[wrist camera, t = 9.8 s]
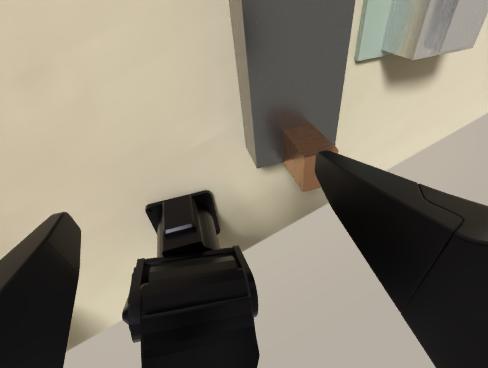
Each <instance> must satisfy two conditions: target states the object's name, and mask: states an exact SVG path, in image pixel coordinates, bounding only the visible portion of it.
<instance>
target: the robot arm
mask: <svg viewBox="0 0 488 368" xmlns="http://www.w3.org/2000/svg"><path fill="white" fill-rule="evenodd" d="M314 171H315V175H316V177H317V179H318V181H319V183H320V185H321V187H322V189H323V192H324V194H325V196H326V198H327V200H328V202H329V204H330V205H331V207H332V209H333V210H334V212H335V214H336V215H337V216H338V218H339V219H340V221H341V223H342V224H343V226H344V227H345V229H346V230H347V232H348V233H349V235H350V236H351V238H352V240H353V241H354V243H355V244H356V246H357V247H358V249H359V250H360V251H361V253H362V255H363V256H364V258H365V259H366V261H367V262H368V264H369V266H370V267H371V269H372V270H373V272H374V273H375V275H376V276H377V278H378V279H379V281H380V282H381V284H382V285H383V287H384V289H385V290H386V292H387V293H388V295H389V296H390V298H391V299H392V301H393V302H394V303H395V305H396V307H397V308H398V310H399V311H400V312H401V315H402V316H403V318H404V319H405V321H406V322H407V324H408V325H409V327H410V328H411V330H412V332H413V333H414V335H415V336H416V338H417V339H418V341H419V342H420V344H421V345H422V347H423V348H424V350H425V351H426V353H427V355H428V356H429V358H430V359H431V361H432V362H433V364H434V365H435V367H436V368H488V206H486V205H483V204H479V203H476V202H473V201H469V200H466V199H463V198H460V197H457V196H454V195H450V194H447V193H444V192H441V191H438V190H436V189H432V188H430V187H427V186H425V185H422V184H417V183H416V182H413V181H411V180H408V179H405V178H403V177H400V176H397V175H394V174H392V173H389V172H386V171H384V170H381V169H378V168H375V167H373V166H370V165H367V164H365V163H362V162H359V161H356V160H354V159H351V158H348V157H345V156H343V155H340V154H337V153H334V152H332V151H329V150H324V151H320V152H318V153H317V154H316V158H315V169H314ZM204 195H207V196H204ZM150 209H152V210H150ZM145 211H146V213H147V215H148V217H149V219H150V221H151V223H152V225H153V227H154V229H155V231H156V233H157V258H150V259H145V258H142V259H138V260H137V265H136V267H134V272H133V274H132V281H131V287H130V292H129V296H128V299H127V302H126V304H125V307H124V309H123V313H122V318H123V321H125V322H126V323H127V324H128V325H129V329H130V332H131V337H132V341H133V342H134V343H135V342H139V341H141V362H142V368H257V365H258V360H259V350H258V344H257V339H256V333H255V326H254V317H256V316H257V314H258V296H257V290H256V285H255V281H254V278H253V275H252V272H251V270H250V268H249V266H248V264H247V262H246V260H245V258H244V256H243V254H242V252H241V250H240V248H239V246H233V247H231V248H224V249H220V247H219V243H218V238H217V234H219V233H220V228H219V224H218V220H217V216H216V212H215V208H214V204H213V200H212V197H211V193H210V191H207V190H205V191H201V192H197V193H193V194H189V195H185V196H180V197H176V198H172V199H168V200H164V201H160V202H156V203H152V204H149V205H147V206H146V209H145ZM80 248H81V230H80V228H79V226H78V225H77V224H76V222H75V221H74V220H73V218H72V217H71V216H70V215H69V214H68V213H67V212H61V213H57V214H53V215H51V216H50V217H49V218H48V219H46V220H45V221H44V222H43V223H42V224H41V225H40V226H38V227H37V228H36V229H35V230H34V231H33V232H32V233H31V234H29V235H28V236H27V237H26V238H25V239H24V240H23V241H21V242H20V243H19V244H18V245H17V246H16V247H15V248H13V249H12V250H11V251H10V252H9V253H8V254H7V255H6V256H4V257H3V258H2V259H1V260H0V368H63V365H64V359H65V353H66V348H67V342H68V336H69V330H70V324H71V319H72V313H73V307H74V301H75V295H76V290H77V284H78V278H79V269H80Z"/></svg>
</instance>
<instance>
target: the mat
mask: <svg viewBox="0 0 488 368" xmlns="http://www.w3.org/2000/svg"><path fill="white" fill-rule="evenodd" d="M391 1H392V0H364V3H363V9H362V15H361V22H360V28H359V34H358V41H357V47H356V53H355V59H354V60H357V61H361V60H366V59H371V58H376V57H381V56H386V55H391V54H393V53H390V52H387V51H384V50H381V47H382V43H383V38H384V34H385V29H386V24H387V20H388V15H389V10H390V6H391Z"/></svg>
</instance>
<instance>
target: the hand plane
mask: <svg viewBox="0 0 488 368" xmlns="http://www.w3.org/2000/svg"><path fill="white" fill-rule="evenodd" d="M229 5H230V13H231V22H232V30H233V39H234V47H235V56H236V64H237V73H238V81H239V90H240V98H241V107H242V115H243V124H244V133H245V141H246V148H247V150H248V152H249V154H250V156H251V158H252V160H253V162H254V164H255V165H256V167H257V168H260V167H264V166H268V165H272V164H276V163H281V162H283V163H284V164H285V166H286V167H287V169H288V170H289V172H290V173H291V175H292V176H293V178H294V179H295V181H296V182H297V184H298V185H299V187H300V188H301V190H302V191H303V192H304V191H308V190H312V189H316V188H319V187H321V185H320V183H319V181H318V179H317V177H316V175H315V171H314V169H315V158H316V154H317V153H318V152H320V151H324V150H329V151H332V152H334V153H337V154H338V149H337V148H336V147H335V140H336V133H337V126H338V119H339V112H340V105H341V98H342V91H343V84H344V77H345V70H346V62H347V55H348V48H349V41H350V34H351V27H352V20H353V13H354V6H355V0H229Z"/></svg>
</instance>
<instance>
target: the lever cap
mask: <svg viewBox="0 0 488 368" xmlns="http://www.w3.org/2000/svg"><path fill="white" fill-rule="evenodd" d="M487 13H488V0H392V1H391V6H390V10H389V15H388V20H387V24H386V29H385V34H384V38H383V43H382V47H381V50H384V51H387V52H390V53H393V54H396V55H399V56H402V57H405V58H408V59H411V60H416V59H421V58H426V57H431V56H436V55H441V54H446V53H451V52H456V51H461V50H466V49H471V48H473V46H474V44H475V41H476V39H477V37H478V34H479V32H480V30H481V27H482V25H483V22H484V20H485V18H486V15H487Z"/></svg>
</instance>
